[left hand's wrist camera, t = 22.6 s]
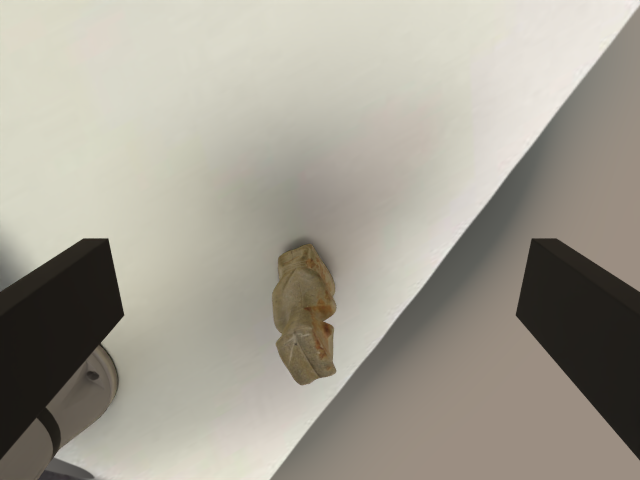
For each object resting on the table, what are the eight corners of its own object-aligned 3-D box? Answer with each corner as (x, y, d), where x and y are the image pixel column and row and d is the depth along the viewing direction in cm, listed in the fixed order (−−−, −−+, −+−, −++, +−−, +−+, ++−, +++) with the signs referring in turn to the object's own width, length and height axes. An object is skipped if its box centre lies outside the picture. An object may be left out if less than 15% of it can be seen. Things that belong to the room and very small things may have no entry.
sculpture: (294, 302, 45) (282, 400, 31) (270, 248, 43) (246, 326, 29) (342, 287, 44) (353, 380, 30) (321, 230, 42) (321, 303, 28)
